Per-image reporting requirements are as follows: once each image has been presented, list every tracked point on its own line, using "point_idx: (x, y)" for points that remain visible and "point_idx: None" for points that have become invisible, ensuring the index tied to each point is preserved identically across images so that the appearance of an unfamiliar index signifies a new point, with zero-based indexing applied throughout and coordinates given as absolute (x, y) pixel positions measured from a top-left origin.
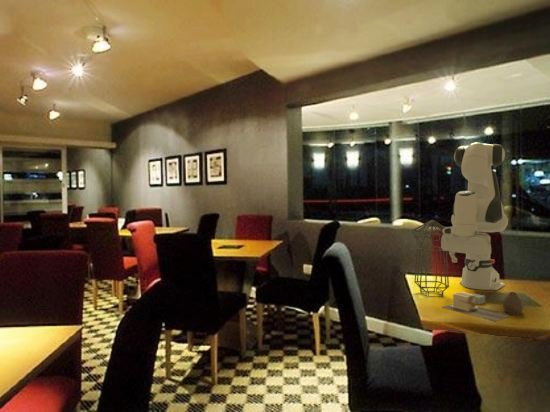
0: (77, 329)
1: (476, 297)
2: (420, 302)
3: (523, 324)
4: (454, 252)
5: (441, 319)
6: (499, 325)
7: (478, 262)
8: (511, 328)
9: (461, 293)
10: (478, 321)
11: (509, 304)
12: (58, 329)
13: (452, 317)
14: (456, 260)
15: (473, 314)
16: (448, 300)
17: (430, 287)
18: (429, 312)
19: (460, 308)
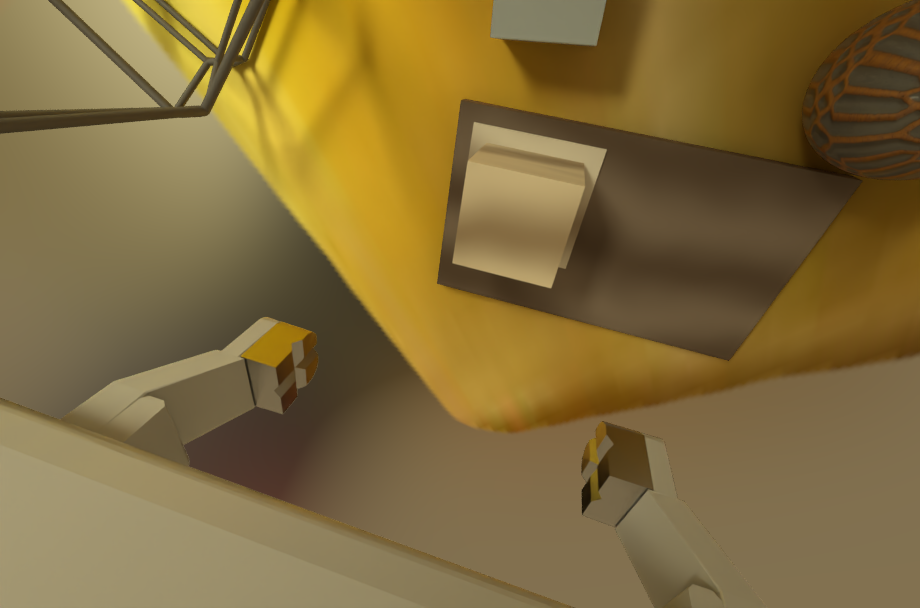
0: None
1: (567, 42)
2: (307, 220)
3: (902, 277)
4: (149, 438)
5: (501, 396)
6: (745, 358)
7: (667, 493)
8: (807, 371)
9: (485, 211)
10: (641, 351)
11: (880, 179)
12: None
13: (526, 356)
14: (294, 354)
15: (607, 311)
16: (367, 42)
17: (218, 89)
18: (425, 342)
19: None
